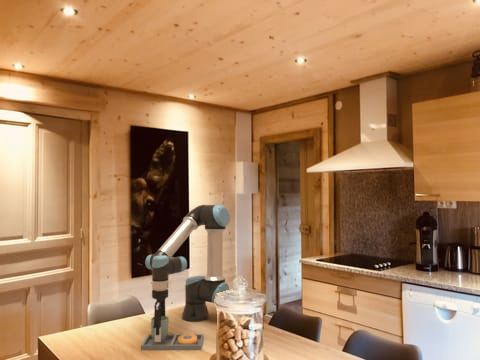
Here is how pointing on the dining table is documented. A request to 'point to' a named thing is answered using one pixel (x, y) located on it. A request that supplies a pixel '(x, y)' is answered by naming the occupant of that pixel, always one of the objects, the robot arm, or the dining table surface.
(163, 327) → the cup
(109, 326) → the dining table surface
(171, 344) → the tray
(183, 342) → the orange round thick disc
